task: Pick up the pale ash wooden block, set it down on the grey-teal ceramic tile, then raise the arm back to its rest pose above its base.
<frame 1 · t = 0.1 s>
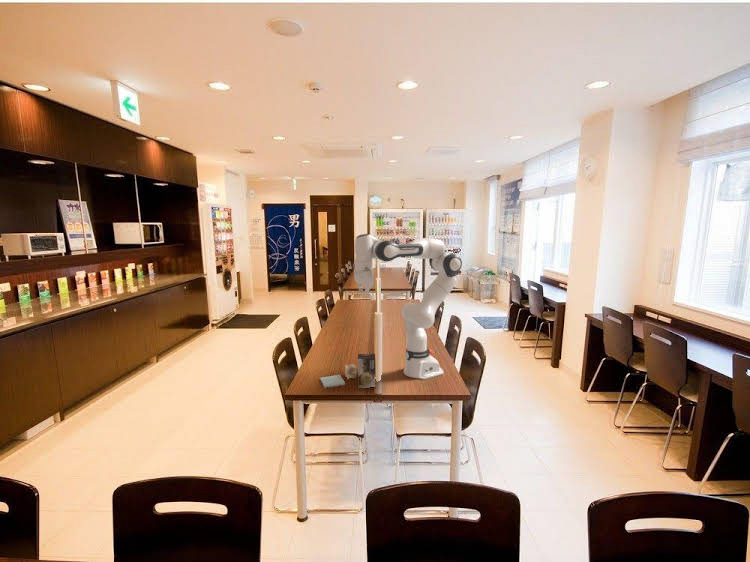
hand: (363, 293, 180), 48 cm above the table, tool pointing down, fingers open, 8 cm apart
coffee box: (366, 385, 183), on the table
tile: (332, 382, 187), on the table
ash block: (350, 376, 193), on the table
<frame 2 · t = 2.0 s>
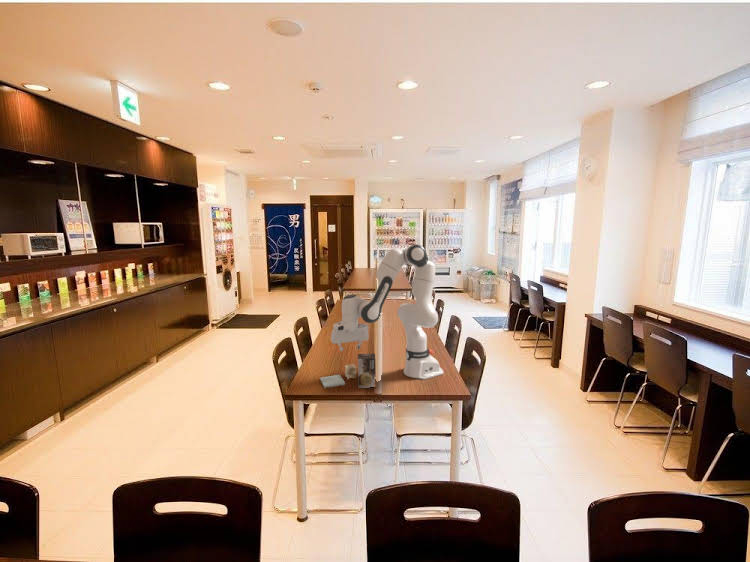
hand: (349, 349, 191), 16 cm above the table, tool pointing down, fingers open, 8 cm apart
nothing on the table moved.
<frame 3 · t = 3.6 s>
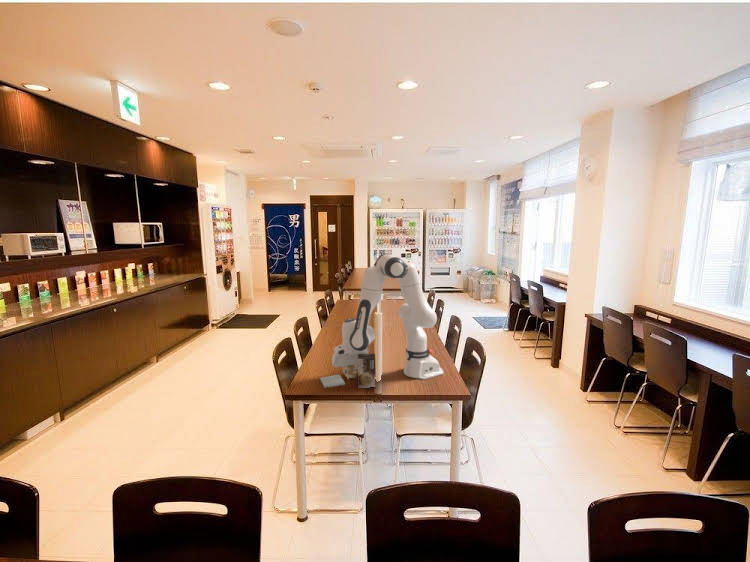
hand: (350, 372, 193), 3 cm above the table, tool pointing down, fingers closed on ash block, 5 cm apart
ash block: (350, 376, 193), on the table, touching gripper
everything else where it was.
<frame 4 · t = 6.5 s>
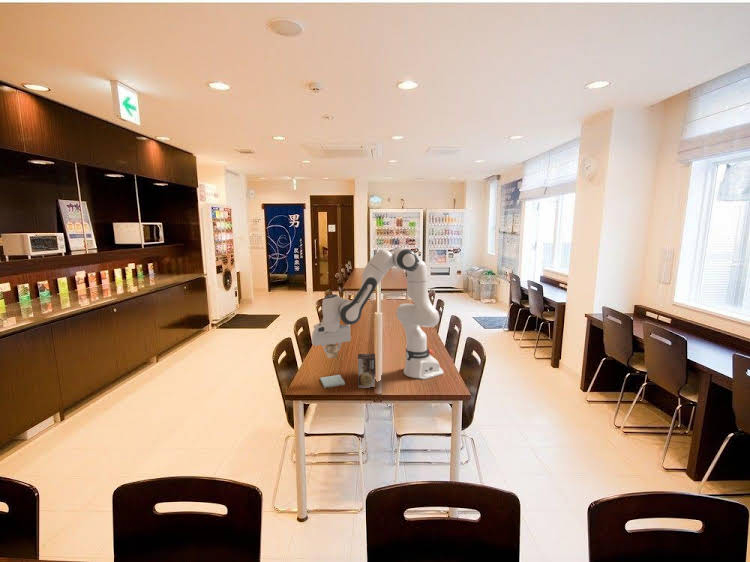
hand: (331, 351, 184), 17 cm above the table, tool pointing down, fingers closed on ash block, 5 cm apart
ash block: (331, 356, 184), point 14 cm above the table, touching gripper
everything else where it was.
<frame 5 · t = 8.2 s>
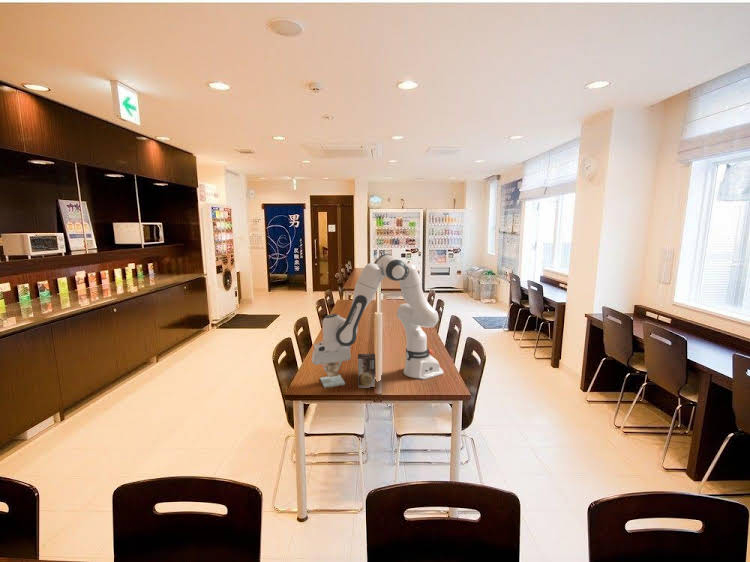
hand: (332, 370, 185), 7 cm above the table, tool pointing down, fingers closed on ash block, 5 cm apart
ash block: (332, 374, 186), point 4 cm above the table, touching gripper
everything else where it was.
when the fingers open (5 cm above the table, at t = 9.4 s): ash block drops 1 cm, resting on tile.
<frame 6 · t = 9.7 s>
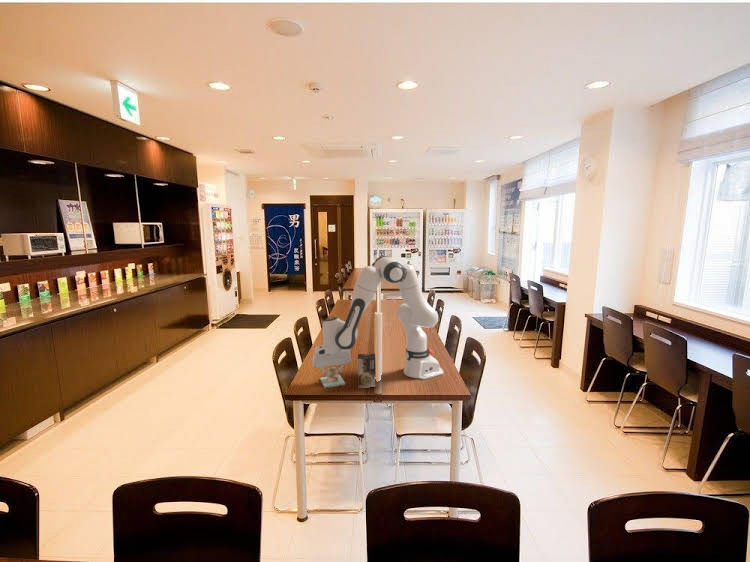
hand: (332, 372, 186), 5 cm above the table, tool pointing down, fingers open, 7 cm apart
ash block: (332, 380, 186), point 1 cm above the table, touching tile
everything else where it was.
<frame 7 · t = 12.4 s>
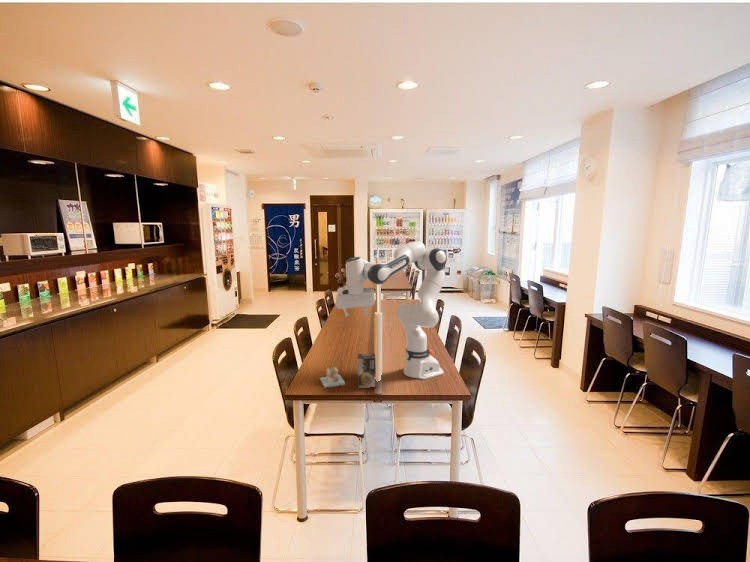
hand: (355, 315, 181), 36 cm above the table, tool pointing down, fingers open, 8 cm apart
nothing on the table moved.
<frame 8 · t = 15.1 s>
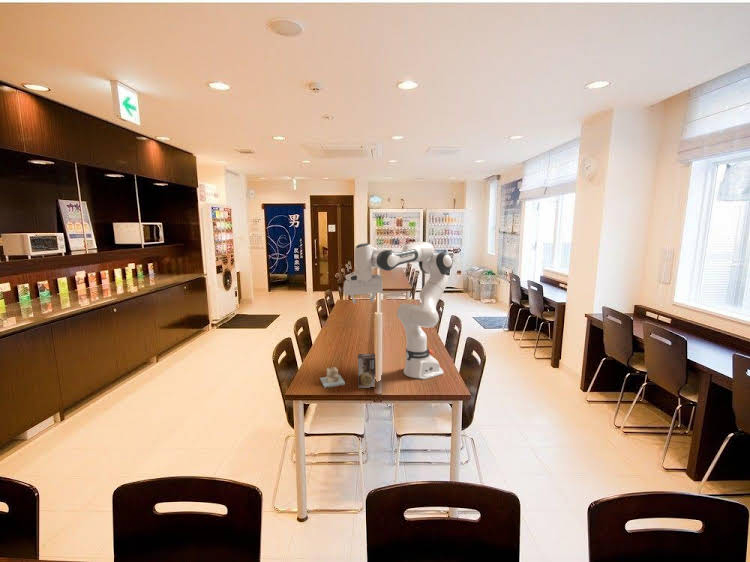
hand: (363, 302, 181), 43 cm above the table, tool pointing down, fingers open, 8 cm apart
nothing on the table moved.
at the end: ash block inside the target area on the tile (0.1 cm from its centre), point 1.0 cm above the tile's base; ash block tilted 0°; the gripper is holding nothing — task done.
